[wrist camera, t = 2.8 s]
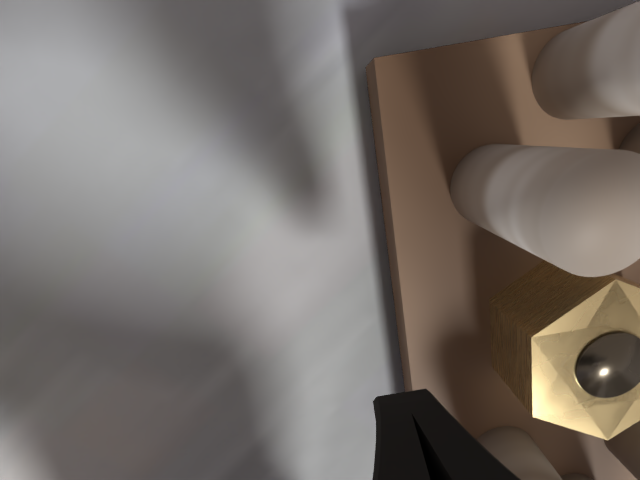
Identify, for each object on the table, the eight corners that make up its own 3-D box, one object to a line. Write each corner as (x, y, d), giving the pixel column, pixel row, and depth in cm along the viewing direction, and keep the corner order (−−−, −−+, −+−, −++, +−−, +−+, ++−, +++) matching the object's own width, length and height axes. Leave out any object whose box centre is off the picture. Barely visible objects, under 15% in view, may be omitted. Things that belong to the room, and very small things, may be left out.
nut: (493, 398, 13) (534, 454, 11) (487, 263, 12) (532, 294, 10) (617, 377, 13) (684, 429, 11) (624, 239, 12) (704, 265, 10)
